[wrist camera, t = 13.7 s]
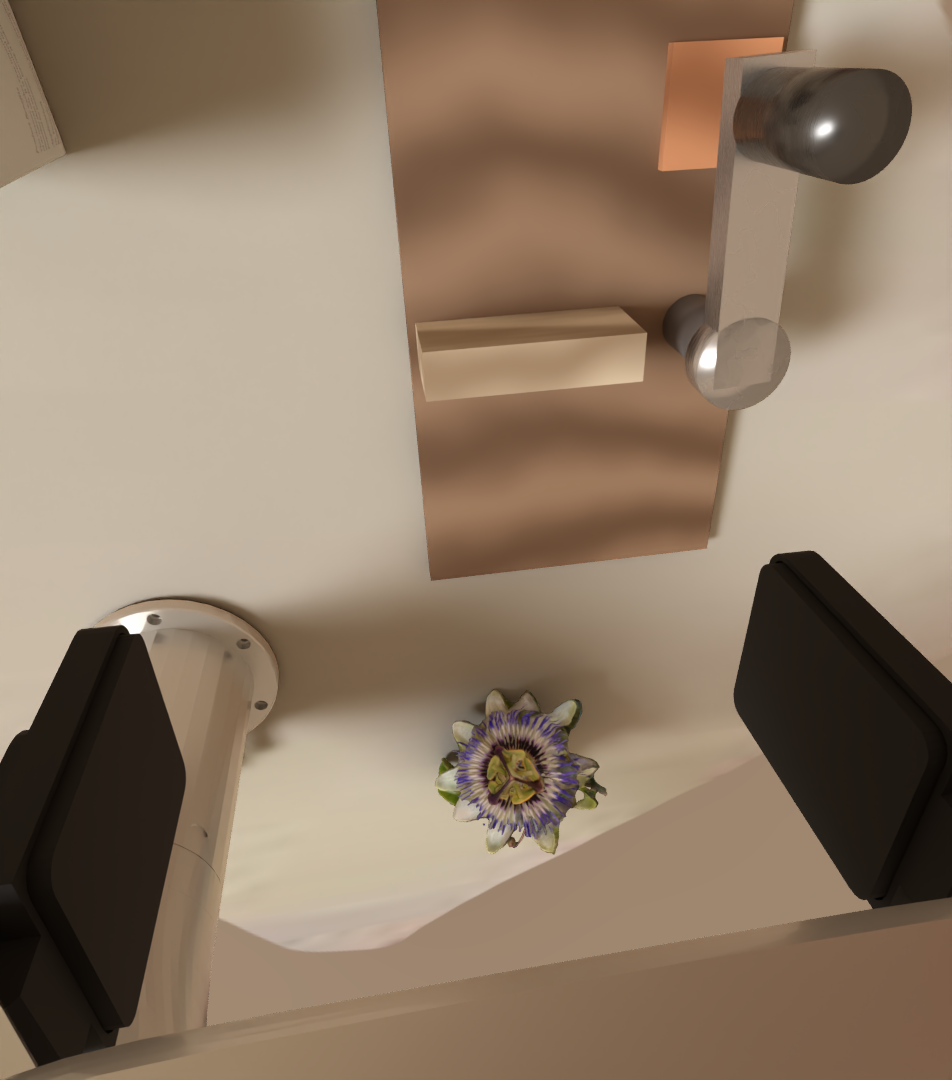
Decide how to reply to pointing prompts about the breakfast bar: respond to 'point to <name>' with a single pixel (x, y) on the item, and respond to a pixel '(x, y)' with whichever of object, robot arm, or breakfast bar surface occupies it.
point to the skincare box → (22, 108)
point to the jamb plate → (560, 267)
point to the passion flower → (518, 771)
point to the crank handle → (778, 201)
